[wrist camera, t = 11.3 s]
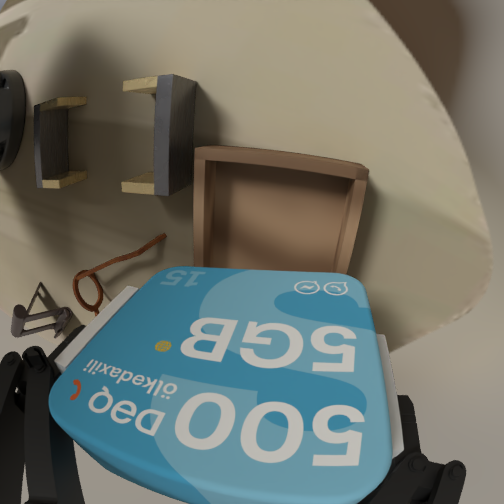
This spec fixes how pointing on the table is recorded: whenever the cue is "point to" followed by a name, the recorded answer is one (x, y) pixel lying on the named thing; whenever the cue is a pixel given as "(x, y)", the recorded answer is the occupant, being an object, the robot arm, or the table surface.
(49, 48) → the table surface
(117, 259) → the glasses
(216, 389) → the data package
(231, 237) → the tray
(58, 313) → the portable electronic device stand
